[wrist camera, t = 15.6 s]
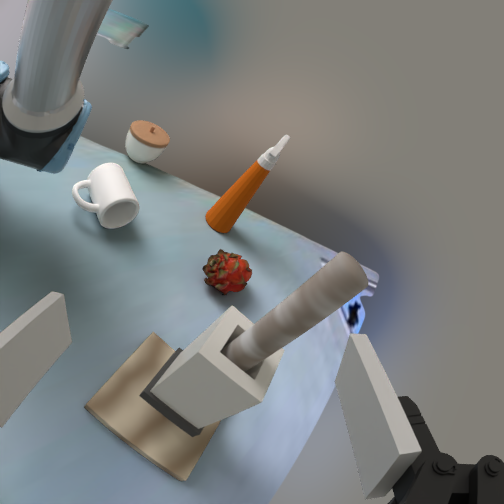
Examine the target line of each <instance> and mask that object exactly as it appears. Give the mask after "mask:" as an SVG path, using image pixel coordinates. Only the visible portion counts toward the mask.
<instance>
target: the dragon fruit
mask: <svg viewBox="0 0 504 504" xmlns="http://www.w3.org/2000/svg"><path fill="white" fill-rule="evenodd" d="M241 257H242V256H240V255H238V254H234V253H231V254H229V253H228V252H224V251H223V250H222V249H220V250H219V251H218V253H217V254H216V255H211V256H210V257H209V259H208V262H207V265H205V266H203V271H204V273H205V274H206V275H207V276H208V279H207V278H205V279H204V281H205V283H206V284H208V285H211V286H215V288H216V289H218V290H219V291H220V292H222V293H223V294H222V295H226V294H227V293H228V292H229V291H233V292H239V291H241V290H243V289H244V288H245V286H246V285H247V283H246V282H247V281H249V279H250V278H251V275H252V269H250V268H249V264H248V262H247V261H246V260H244V259H241Z"/></svg>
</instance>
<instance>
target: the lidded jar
mask: <svg viewBox="0 0 504 504" xmlns="http://www.w3.org/2000/svg"><path fill="white" fill-rule="evenodd" d="M169 141H170V139H169V136H168V134H167V133H166V132H165V131H164V130H163V129H162V128H160V127H158V126H157V125H155V124H153V123H150V122H147V121H140V120H139V121H135V122H133V123H132V124H131V126H130V129H129V131H128V134H127V137H126V142H125V146H126V150H127V153H128V156H129V157H130V158H131V159H132V160H133V161H135V162H137V163H142V164H144V163H147V162H150V161H153V160H155V159H156V158H158V157H159V156H160V155H161V154H162V152H163V151H164V149H165V148H166V146H167V145H168V143H169Z"/></svg>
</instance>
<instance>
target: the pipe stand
mask: <svg viewBox="0 0 504 504" xmlns="http://www.w3.org/2000/svg"><path fill="white" fill-rule="evenodd" d="M367 286H368V279H367V276H366V274H365V272H364V270H363V269H362V267H361V266H360V264H359V263H358V262H357V261H356V260H355V259H354V258H353V257H352V256H351V255H349V254H347V253H345V252H340V253H339V254H337V255H336V256H335V257H334V258H333V259H332V260H331V261H329V262H328V263H327V264H326V265H325V266H324V267H322V268H321V269H320V270H319V271H318V272H317V273H315V274H314V275H313V276H312V277H311V278H310V279H308V280H307V281H306V282H305V283H304V284H303V285H301V286H300V287H299V288H298V289H297V290H295V291H294V292H293V293H292V294H291V295H289V296H288V297H287V298H286V299H285V300H283V301H282V302H281V303H280V304H278V305H277V306H276V307H275V308H274V309H272V310H271V311H270V312H269V313H267V314H266V315H265V316H264V317H262V318H261V319H260V320H259V321H257V322H256V323H255V324H254V325H252V326H251V327H250V328H249V329H247V330H246V331H245V332H244V333H242V334H241V335H240V336H239V337H237V338H236V339H235V340H233V341H232V342H231V343H230V344H228V345H227V346H226V347H224V348H223V349H222V350H221V351H220V352H221V353H222V354H223V355H224V356H225V357H227V358H228V359H229V360H230V361H231V362H233V363H234V364H235V365H236V366H238V367H239V368H240V369H241V370H242V371H244V372H245V371H247V370H248V369H250V368H251V367H253V366H255V365H256V364H258V363H259V362H261V361H262V360H264V359H266V358H267V357H269V356H270V355H272V354H273V353H275V352H276V351H278V350H279V349H281V348H283V347H284V346H286V345H287V344H289V343H290V342H292V341H293V340H294V339H296V338H297V337H299V336H300V335H302V334H303V333H305V332H306V331H308V330H309V329H310V328H312V327H313V326H315V325H316V324H318V323H319V322H320V321H322V320H323V319H325V318H326V317H327V316H329V315H330V314H332V313H333V312H334V311H336V310H337V309H338V308H340V307H341V306H343V305H344V304H345V303H347V302H348V301H349V300H351V299H352V298H353V297H355V296H356V295H357V294H359V293H360V292H361V291H362V290H364V289H365V288H366V287H367ZM174 352H175V351H174V350H173V349H172V348H171V347H170V346H169V345H168V344H166V343H165V342H164V341H163V340H162V339H161V338H160V337H159V336H158V335H156V334H155V333H154V332H153V333H152V334H151V335H150V336H149V337H148V338H147V339H146V340H145V341H144V342H143V343H142V344H141V345H140V346H139V347H138V348H137V350H136V351H135V352H134V353H133V354H132V355H131V356H130V357H129V358H128V359H127V360H126V361H125V362H124V364H123V365H122V366H121V367H120V368H119V369H118V370H117V371H116V372H115V373H114V374H113V375H112V376H111V378H110V379H109V380H108V381H107V382H106V383H105V384H104V385H103V386H102V387H101V388H100V389H99V391H98V392H97V393H96V394H95V395H94V396H93V397H92V398H91V399H90V400H89V401H88V403H87V404H86V405H85V407H84V408H85V409H87V410H88V411H89V412H90V413H91V414H92V415H93V416H94V417H95V418H97V419H98V420H99V421H100V422H101V423H102V424H103V425H105V426H106V427H107V428H108V429H109V430H110V431H112V432H113V433H114V434H115V435H116V436H118V437H119V438H120V439H121V440H123V441H124V442H125V443H127V444H128V445H129V446H130V447H132V448H133V449H134V450H136V451H137V452H138V453H140V454H141V455H142V456H144V457H145V458H146V459H148V460H149V461H151V462H152V463H153V464H155V465H156V466H158V467H159V468H161V469H162V470H164V471H165V472H167V473H168V474H170V475H171V476H173V477H174V478H176V479H177V480H179V481H186V480H187V478H188V477H189V475H190V473H191V472H192V470H193V468H194V467H195V465H196V463H197V461H198V460H199V458H200V456H201V455H202V453H203V451H204V449H205V448H206V446H207V444H208V443H209V441H210V439H211V437H212V436H213V434H214V432H215V430H216V428H217V427H218V425H219V423H220V421H221V420H220V421H217V422H215V423H212V424H210V425H207V426H205V427H204V428H203V430H202V432H201V433H200V435H197V436H194V437H191V436H190V435H189V434H187V433H186V432H184V431H183V430H182V429H180V428H179V427H178V426H176V425H175V424H174V423H172V422H171V421H170V420H168V419H167V418H166V417H165V416H163V415H162V414H161V413H160V412H158V411H157V410H156V409H155V408H153V407H152V406H151V405H150V404H148V403H147V402H146V401H145V400H144V399H142V398H141V397H140V396H139V395H140V394H141V392H142V391H143V390H144V389H145V388H146V386H147V385H148V384H149V383H150V381H151V380H152V379H153V378H154V376H155V375H156V374H157V373H158V372H159V370H160V369H161V368H162V367H163V365H164V364H165V363H166V362H167V360H168V359H169V358H170V357H171V356H172V354H173V353H174Z"/></svg>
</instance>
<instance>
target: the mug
mask: <svg viewBox="0 0 504 504" xmlns="http://www.w3.org/2000/svg"><path fill="white" fill-rule="evenodd" d="M82 188H88V191H89V194H90V197H91V200H92V203H93V204H91V203H88V202H85V201H84V200H82V199H81V197H80V196H79V194H78V190H79V189H82ZM72 195H73V198H74V200H75V202H76V203H77V204H78V206H80V207H81V208H82V209H84V210H86V211H89V212H94V213H96V214H97V217H98V219H99V222H100V224H101V225H102V226H103V227H105V228H108V229H115V228H119V227H122V226H125V225H126V224H128V223H130V222H131V221H132V220H133V219H134V218H135V217H136V216H137V214H138V212H139V203H138V201H137V199H136V197H135V195H134V192H133V190H132V188H131V186H130V184H129V182H128V180H127V177H126V175H125V173H124V171H123V169H122V167H121V166H119V165H118V164H115V163H106V164H102V165H100V166H98V167H96V168H95V169H94V170H93V171H92V172H91V173H90V174H89V176H88V178H87V180H84V181H80V182H78V183H76V184H75V185H74V186H73V189H72Z"/></svg>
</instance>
